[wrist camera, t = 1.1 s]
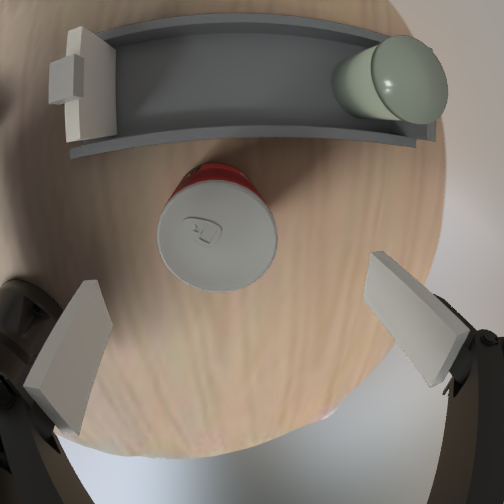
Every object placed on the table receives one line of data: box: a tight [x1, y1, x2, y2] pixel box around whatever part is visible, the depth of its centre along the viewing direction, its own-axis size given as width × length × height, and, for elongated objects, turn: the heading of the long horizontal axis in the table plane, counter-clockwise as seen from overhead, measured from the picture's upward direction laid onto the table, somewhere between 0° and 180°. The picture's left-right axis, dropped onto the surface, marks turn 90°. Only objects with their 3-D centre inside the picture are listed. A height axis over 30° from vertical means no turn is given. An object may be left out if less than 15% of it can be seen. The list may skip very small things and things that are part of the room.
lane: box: [69, 13, 436, 159], centre depth 20 cm, size 33×12×7 cm, turn 91°
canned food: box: [157, 163, 278, 292], centre depth 23 cm, size 8×8×11 cm
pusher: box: [49, 26, 117, 143], centre depth 16 cm, size 2×9×10 cm, turn 1°
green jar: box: [331, 35, 448, 124], centre depth 19 cm, size 7×7×9 cm
